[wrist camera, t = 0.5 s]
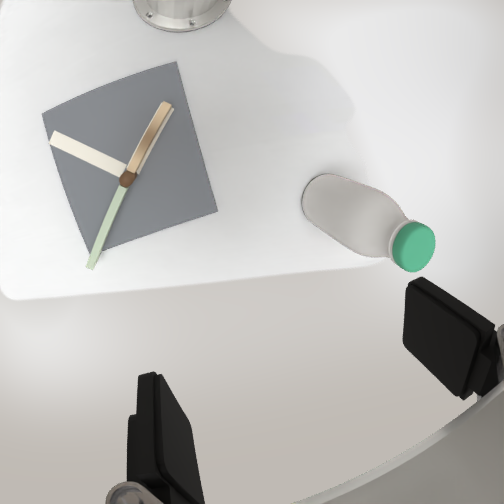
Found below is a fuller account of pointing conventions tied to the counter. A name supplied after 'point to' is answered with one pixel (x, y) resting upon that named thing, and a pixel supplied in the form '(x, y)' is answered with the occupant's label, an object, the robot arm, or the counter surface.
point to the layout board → (130, 157)
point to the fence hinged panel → (106, 226)
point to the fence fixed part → (144, 145)
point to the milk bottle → (367, 221)
